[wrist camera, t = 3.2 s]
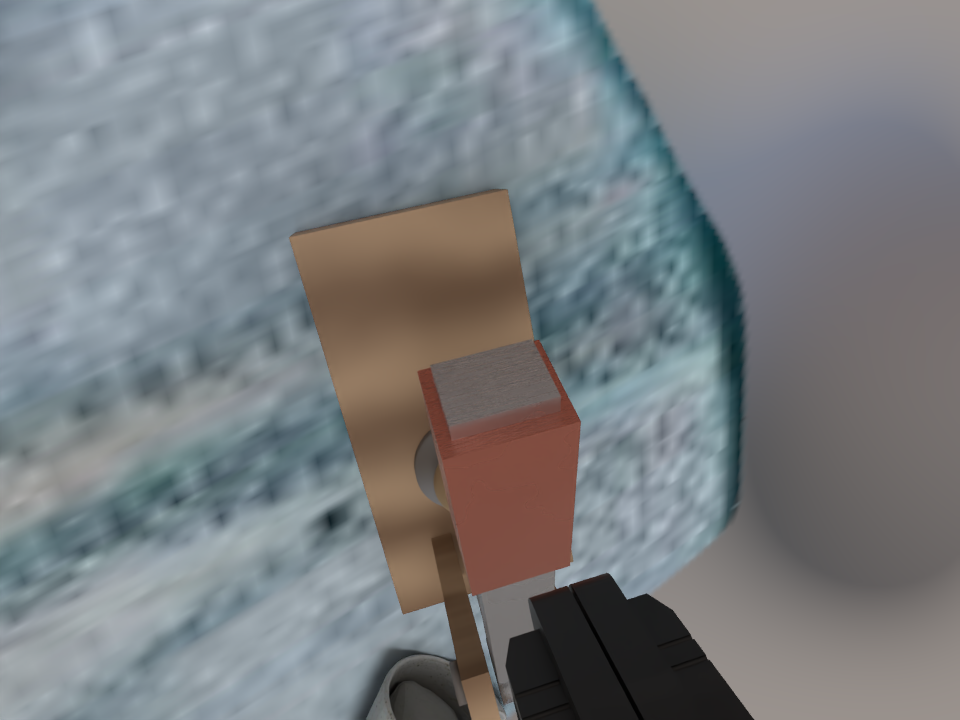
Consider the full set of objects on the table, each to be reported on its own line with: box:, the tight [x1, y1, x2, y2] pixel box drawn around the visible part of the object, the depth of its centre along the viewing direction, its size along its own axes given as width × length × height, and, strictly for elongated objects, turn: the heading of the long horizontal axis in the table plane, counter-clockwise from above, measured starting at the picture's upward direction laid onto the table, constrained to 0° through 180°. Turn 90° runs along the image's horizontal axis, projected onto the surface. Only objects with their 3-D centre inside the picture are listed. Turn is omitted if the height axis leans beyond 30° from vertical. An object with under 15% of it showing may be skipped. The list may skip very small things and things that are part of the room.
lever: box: [417, 339, 581, 705], centre depth 21 cm, size 21×3×6 cm, turn 9°
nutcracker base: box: [289, 189, 573, 720], centre depth 29 cm, size 23×11×14 cm, turn 11°
